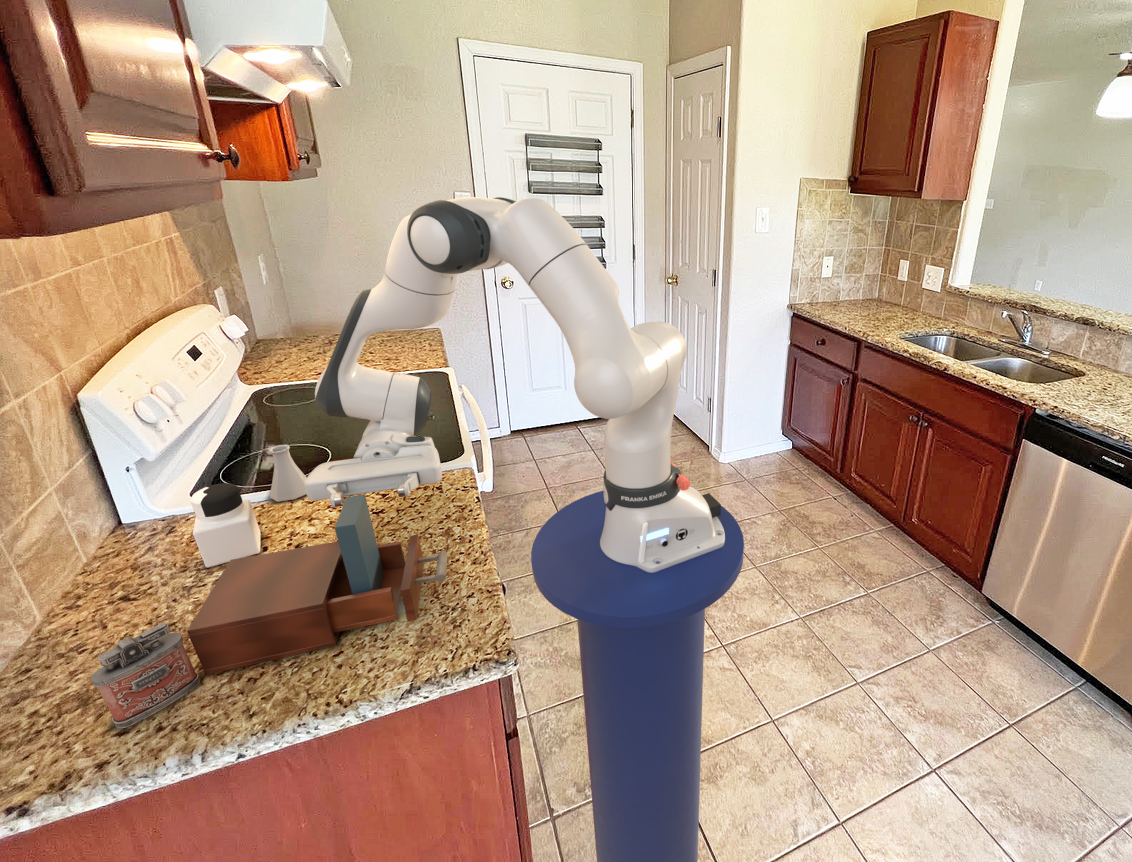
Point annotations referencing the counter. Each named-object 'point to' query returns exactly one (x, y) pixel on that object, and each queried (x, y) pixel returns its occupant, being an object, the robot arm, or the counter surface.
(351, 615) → the drawer
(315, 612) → the cabinet
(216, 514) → the medicine bottle
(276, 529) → the counter surface
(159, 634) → the lighter
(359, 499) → the dark teal rectangular block
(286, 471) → the flask
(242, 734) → the counter surface
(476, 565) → the counter surface
